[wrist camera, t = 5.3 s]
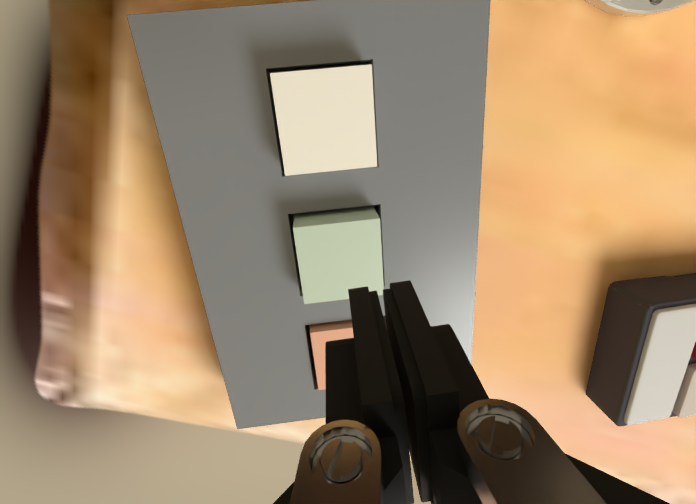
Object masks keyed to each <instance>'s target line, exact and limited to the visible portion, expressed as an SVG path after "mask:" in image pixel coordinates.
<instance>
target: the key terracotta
mask: <svg viewBox="0 0 696 504" xmlns="http://www.w3.org/2000/svg"><path fill="white" fill-rule="evenodd" d="M310 335H311V342H312V349H313V356H314V363H315V369H316V376H317V383H318V390H324V389H326V374H325V344H326V342H327V341H334V340H341V339H348V338H354V336H353V327H352V320H343V321H335V322H327V323H319V324H310Z"/></svg>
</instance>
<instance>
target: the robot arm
mask: <svg viewBox="0 0 696 504" xmlns="http://www.w3.org/2000/svg"><path fill="white" fill-rule="evenodd" d="M585 1H586V2H588V3H589V4H591V5H593V6H595V7H597V8H599V9H601V10H603V11H605V12H608V13H613V14H617V15H622V16H646V15H650V14H655V13H660V12H664V11H669V10H672V9H674V8H677V7H680V6H683V5H686V4H688V3H691V2H693V1H694V0H585ZM348 293H349V301H350V310H351V318H352V327H353V336H354V338H348V339H341V340H334V341H327V342H326V344H325V374H326V424H325V425H323V426H321V427H320V428H319V429H317V430H316V431H315V432H313V433H312V434H311V436H310V437H309V438H308V439H307V441H306V442H305V444H304V447H303V450H302V452H301V455H300V460H299V464H298V469H297V473H296V478H295V481H294V483H293V484H292V485H291V486H290V487H289V488H288V489H287V490H286V491H285V492H284V493H283V494H282V495H281V496H280V497H279V498H278V499H277V500H276V501H275V502H274V503H273V504H413V503H414V498H413V488H412V477H411V466H410V455H411V460H412V464H413V468H414V473H415V477H416V481H417V486H418V490H419V494H420V498H421V501H422V502H427V501H431V504H669V503H667V502H665V501H663V500H661V499H659V498H657V497H655V496H653V495H651V494H648V493H646V492H644V491H642V490H640V489H638V488H636V487H634V486H632V485H630V484H628V483H626V482H623V481H621V480H619V479H617V478H615V477H613V476H611V475H609V474H607V473H605V472H603V471H600V470H598V469H596V468H594V467H592V466H590V465H588V464H586V463H584V462H582V461H580V460H577V459H575V458H573V457H571V456H569V455H567V454H565V453H564V452H563V451H562V450H561V449H560V447H559V446H558V445H557V444H556V443H555V441H554V440H553V439H552V438H551V437H550V435H549V434H548V433H547V432H546V431H545V430H544V428H543V427H542V426H541V425H540V424H539V422H538V421H537V420H536V419H535V418H534V417H533V416H532V415H531V414H530V413H529V412H527V411H526V410H525V409H523V408H521V407H519V406H518V405H516V404H513V403H510V402H507V401H504V400H498V399H489V397H488V396H487V394H486V392H485V390H484V388H483V386H482V384H481V382H480V380H479V378H478V376H477V374H476V373H475V371H474V369H473V367H472V365H471V363H470V361H469V359H468V357H467V355H466V353H465V352H464V350H463V348H462V346H461V344H460V342H459V340H458V338H457V336H456V334H455V332H454V331H453V329H452V327H451V326H450V325H449V324H445V325H438V326H430V324H429V321H428V319H427V317H426V315H425V312H424V310H423V308H422V306H421V303H420V301H419V299H418V296H417V294H416V292H415V290H414V287H413V285H412V283H411V281H410V280H408V281H401V282H394V283H390V289H383V299H384V308H385V317H386V325H385V321H384V317H383V313H382V309H381V305H380V301H379V297H378V294H377V290H376V291H369V289H368V286H367V287H360V288H353V289H348ZM386 327H387V329H386ZM409 451H410V455H409Z"/></svg>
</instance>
